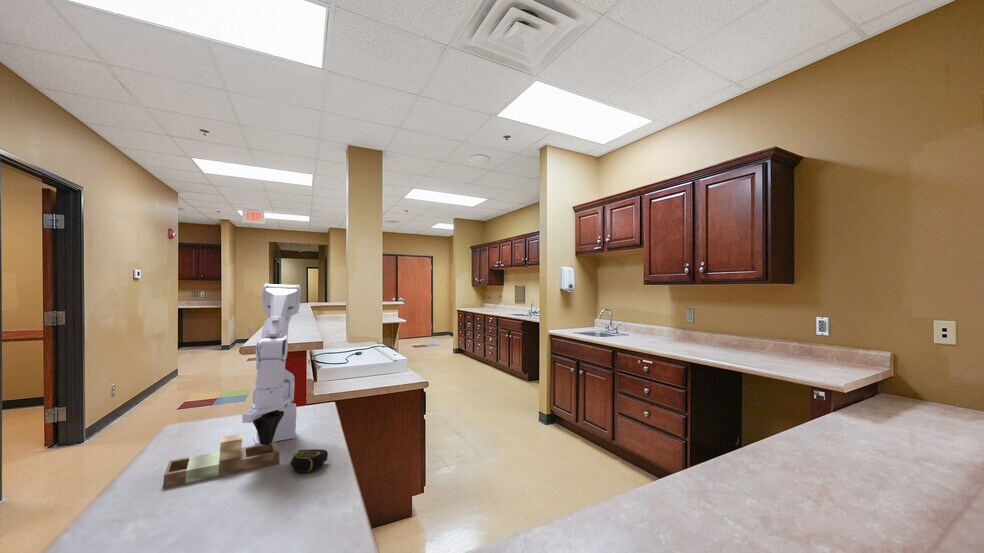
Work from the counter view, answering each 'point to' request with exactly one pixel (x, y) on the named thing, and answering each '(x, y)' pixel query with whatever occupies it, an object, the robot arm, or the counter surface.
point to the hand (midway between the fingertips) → (266, 443)
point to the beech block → (230, 447)
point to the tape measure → (309, 460)
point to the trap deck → (219, 464)
